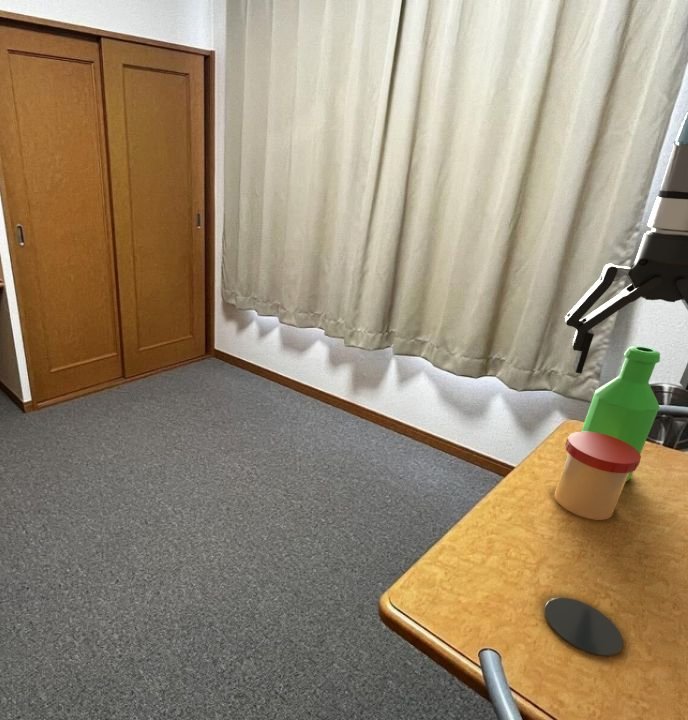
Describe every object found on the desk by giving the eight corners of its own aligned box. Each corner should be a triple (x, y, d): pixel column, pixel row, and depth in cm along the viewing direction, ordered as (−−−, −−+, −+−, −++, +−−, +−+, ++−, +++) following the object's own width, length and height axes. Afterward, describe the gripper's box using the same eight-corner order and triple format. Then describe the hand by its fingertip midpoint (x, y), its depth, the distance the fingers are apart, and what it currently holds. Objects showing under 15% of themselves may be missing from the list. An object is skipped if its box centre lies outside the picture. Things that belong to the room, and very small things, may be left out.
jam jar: (607, 499, 82) (629, 443, 78) (615, 528, 76) (639, 469, 72) (551, 485, 86) (569, 431, 82) (555, 512, 80) (575, 455, 75)
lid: (630, 449, 79) (634, 440, 78) (643, 480, 71) (647, 470, 71) (562, 435, 83) (565, 426, 82) (568, 462, 76) (571, 453, 75)
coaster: (614, 617, 62) (616, 613, 61) (627, 671, 55) (629, 666, 55) (541, 592, 65) (542, 588, 65) (545, 640, 59) (546, 635, 59)
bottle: (565, 471, 90) (607, 349, 80) (575, 452, 95) (615, 336, 85) (625, 493, 84) (678, 364, 74) (632, 471, 89) (682, 348, 79)
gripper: (801, 232, 60) (730, 384, 69) (568, 223, 71) (532, 355, 80) (833, 241, 54) (752, 406, 63) (574, 230, 65) (535, 371, 74)
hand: (629, 378), depth 71 cm, fingers open, 12 cm apart
